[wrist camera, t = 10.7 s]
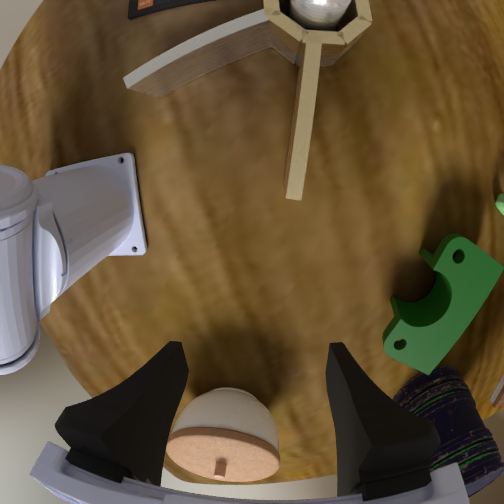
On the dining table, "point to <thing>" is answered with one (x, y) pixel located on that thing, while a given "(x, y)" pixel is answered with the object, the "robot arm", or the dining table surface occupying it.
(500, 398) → the grey boxy piece
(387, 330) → the clamp
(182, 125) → the dining table surface
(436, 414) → the storage jar
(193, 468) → the lidded jar
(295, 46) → the tan ring with arms
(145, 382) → the robot arm
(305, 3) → the hinge pin
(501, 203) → the wrench
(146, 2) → the calculator
